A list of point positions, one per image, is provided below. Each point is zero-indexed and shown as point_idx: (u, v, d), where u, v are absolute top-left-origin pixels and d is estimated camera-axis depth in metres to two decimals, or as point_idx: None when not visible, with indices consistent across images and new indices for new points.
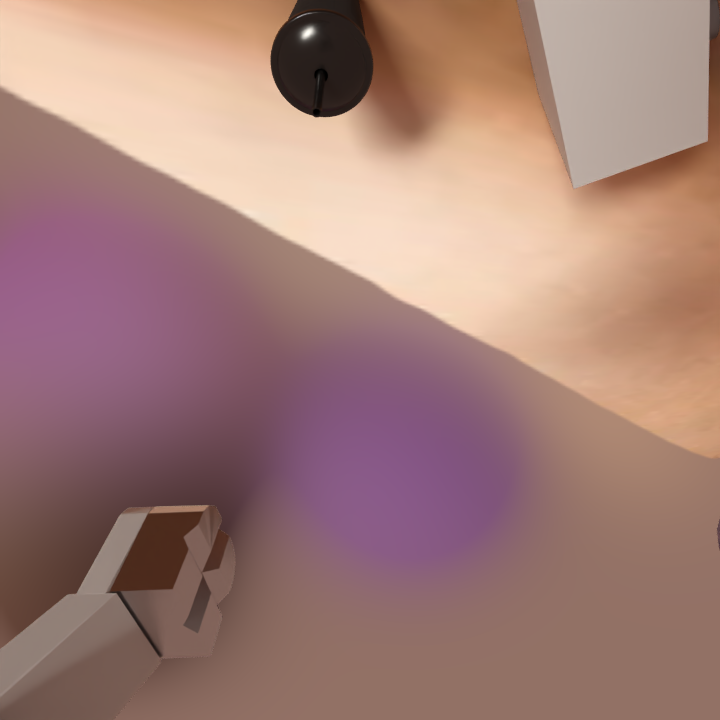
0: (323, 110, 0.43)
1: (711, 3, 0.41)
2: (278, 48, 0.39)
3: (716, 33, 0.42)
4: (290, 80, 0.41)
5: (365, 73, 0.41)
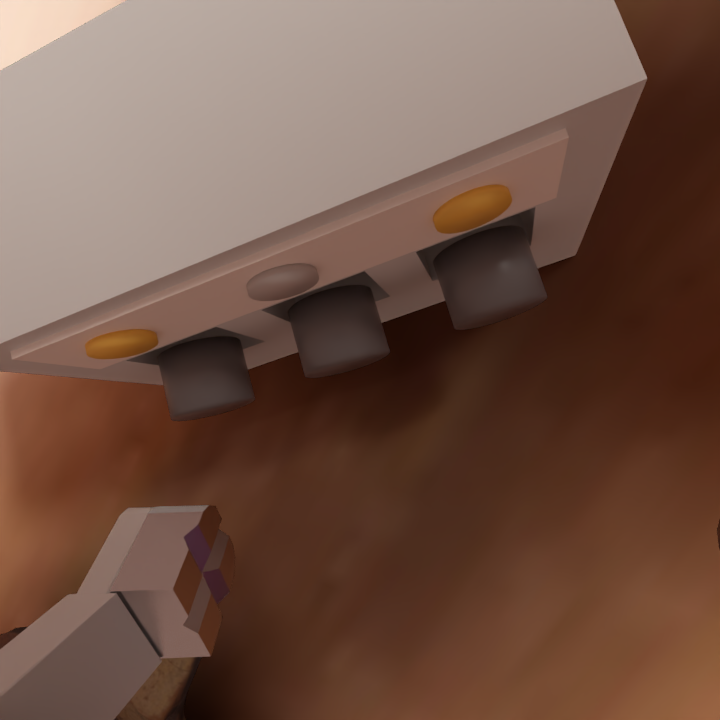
0: None
1: (221, 391, 0.24)
2: None
3: (175, 412, 0.25)
4: None
5: None
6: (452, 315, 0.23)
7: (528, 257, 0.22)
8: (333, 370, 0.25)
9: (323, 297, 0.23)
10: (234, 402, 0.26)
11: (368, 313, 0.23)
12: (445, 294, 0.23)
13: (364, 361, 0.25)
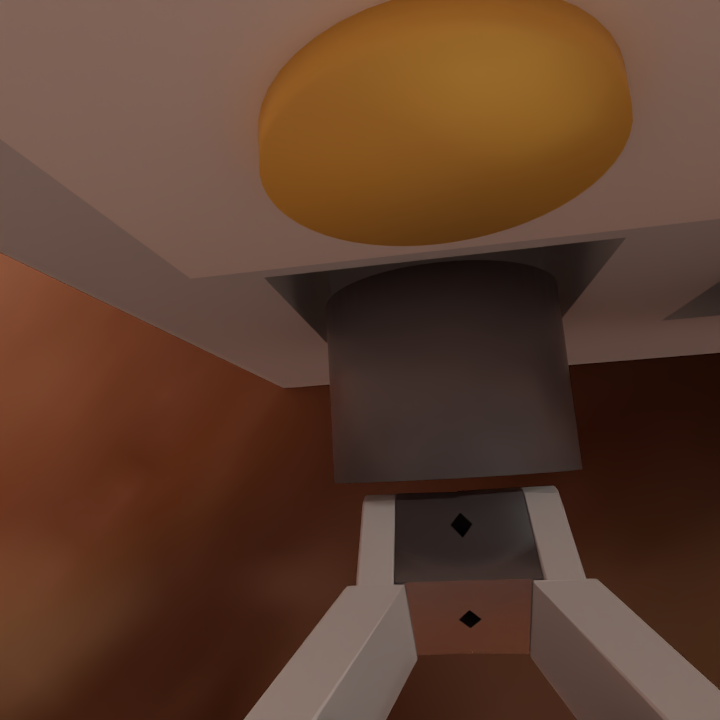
0: None
1: (553, 443, 0.08)
2: None
3: (387, 472, 0.07)
4: None
5: None
6: None
7: None
8: None
9: None
10: None
11: None
12: None
13: None
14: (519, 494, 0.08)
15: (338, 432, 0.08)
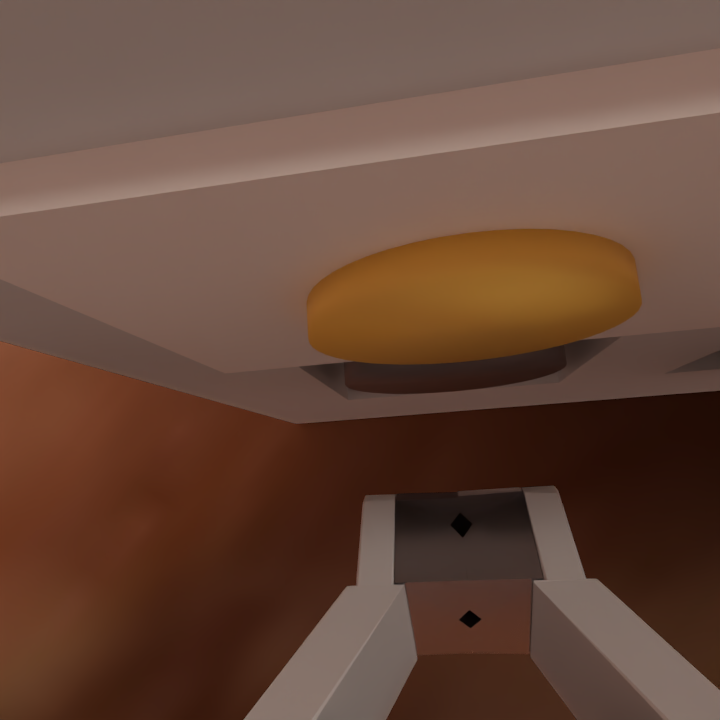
0: None
1: None
2: None
3: None
4: None
5: None
6: None
7: None
8: None
9: None
10: (514, 372, 0.10)
11: None
12: None
13: None
14: (519, 494, 0.08)
15: None
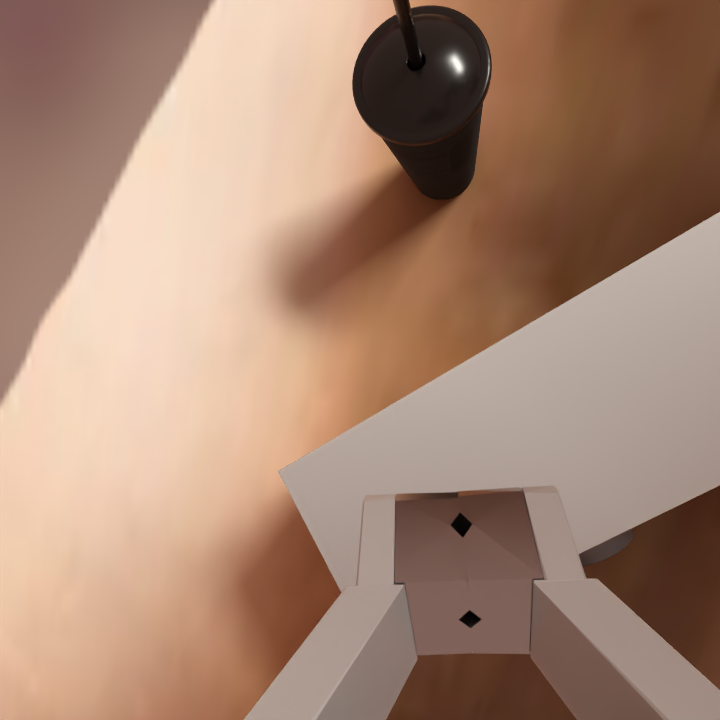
0: (363, 82, 0.30)
1: None
2: (440, 12, 0.29)
3: None
4: None
5: (418, 130, 0.29)
6: None
7: None
8: None
9: None
10: None
11: None
12: None
13: None
14: (518, 494, 0.08)
15: None
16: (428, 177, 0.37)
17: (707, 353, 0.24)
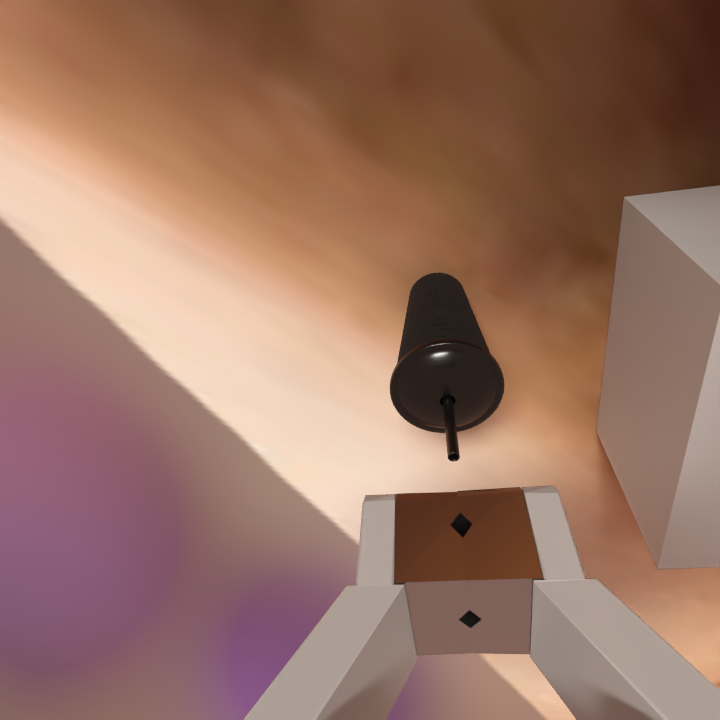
0: (429, 425, 0.38)
1: None
2: (411, 362, 0.35)
3: None
4: (410, 393, 0.36)
5: (489, 408, 0.37)
6: None
7: None
8: None
9: None
10: None
11: None
12: None
13: None
14: (519, 493, 0.08)
15: None
16: None
17: None
